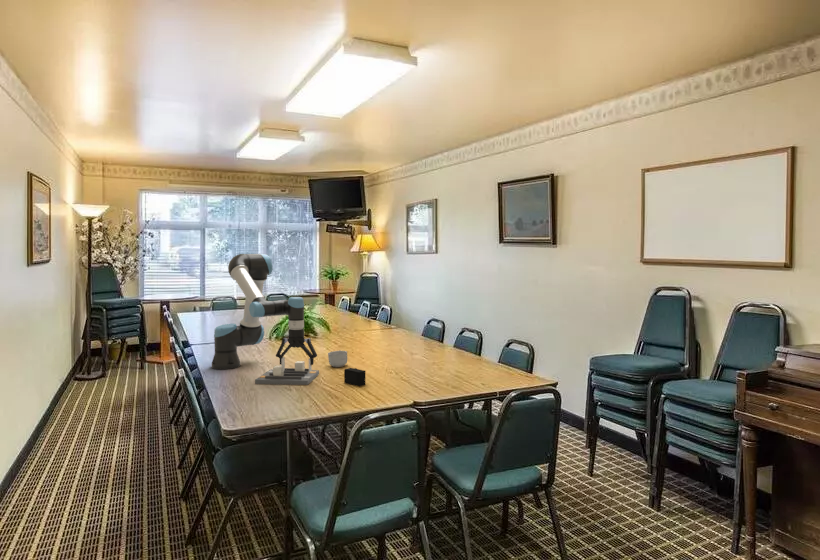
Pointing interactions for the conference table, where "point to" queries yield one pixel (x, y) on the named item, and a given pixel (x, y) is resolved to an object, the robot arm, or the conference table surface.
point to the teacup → (337, 358)
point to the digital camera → (354, 376)
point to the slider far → (300, 366)
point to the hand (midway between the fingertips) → (296, 371)
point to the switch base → (288, 377)
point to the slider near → (278, 371)
